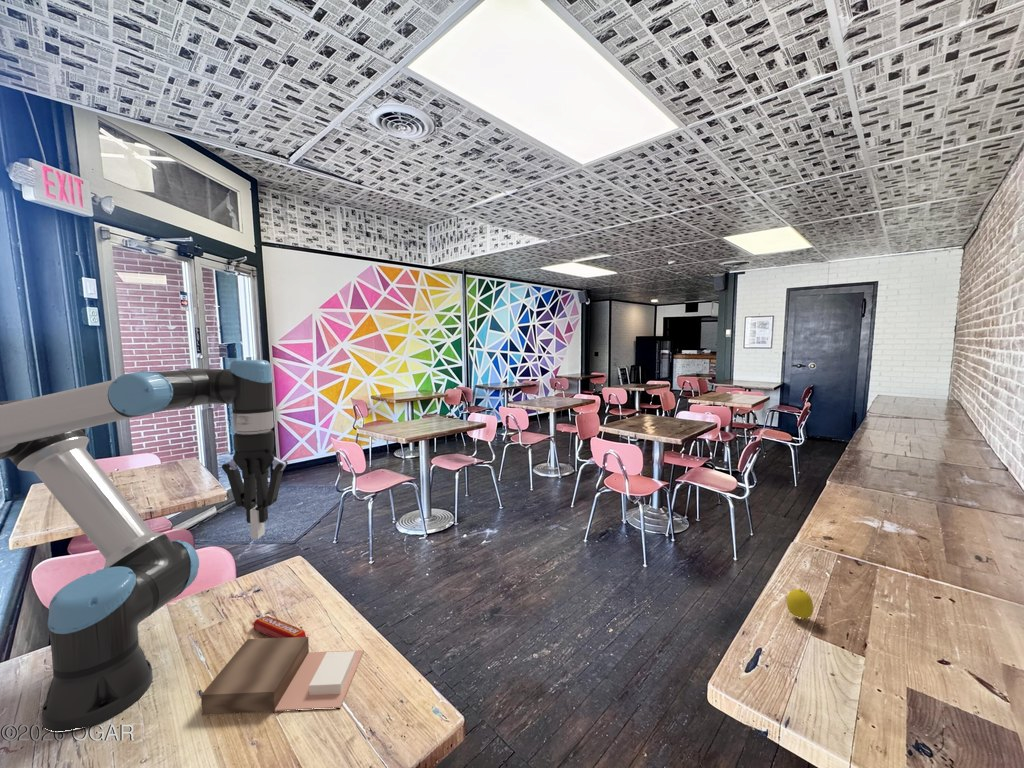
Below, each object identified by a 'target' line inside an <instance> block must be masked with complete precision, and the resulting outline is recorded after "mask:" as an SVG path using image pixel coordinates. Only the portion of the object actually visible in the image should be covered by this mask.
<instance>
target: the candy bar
mask: <svg viewBox="0 0 1024 768" xmlns="http://www.w3.org/2000/svg"><path fill="white" fill-rule="evenodd" d="M251 626H253V629H255V630H256V631H257V632H260V633H262V634H263V635H264V634H265V635H266V636H268V637H270V638H290V637H307V636H306V635H307V634H306V632H305V630H304V629H302V628H299V627H297V626H295V625H291V624H290V623H287V622H285V621H282V620H279V619H277V618H275V617H271V616H268V615H267V616H261V617H259V618H257V619H256V620H254V622H253V623H252V625H251Z"/></svg>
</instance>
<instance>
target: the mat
mask: <svg viewBox="0 0 1024 768" xmlns="http://www.w3.org/2000/svg"><path fill="white" fill-rule="evenodd" d="M346 651H347V650H334V651H331V650H330V651H309V653H308V654H307V656H306V658H305V659H304V661H303V663H302V665H301V666H300V668H299V670H298V671H297V673H296V675H295V676H294V678H293V680H292V681H291V683H290V685H289V686H288V688H287V690H286V692H285V693H284V695H283V697H282V698H281V700H280V702H279V703H278V705H277V707H276V708H275V712H274V713H278V712H277V711H283V712H288V711H287V710H296V709H297V710H298V709H312V708H313V709H314V708H333V707H334V708H339V707H341V708H342V706H343V704H342V703H344V701H343V700H345V699H344V698H346V696H347V694H348V691H349V688H350V687H349V686H351V684H352V682H353V679H354V677H355V674H356V671H357V670H356V669H358V667H359V665H358V664H360V661H361V660H362V657H363V655H364V652H365V651H364V650H363V649H360V650H357V649H355V650H354V651H355V662H354V664H353V666H352V669H351V671H350V673H349V676H348V678H347V680H346V683H345V685H344V688H343V690H342V692H341V694H323V695H309V685H310V683H311V681H312V679H313V677H314V675H315V673H316V671H317V670H318V668H319V666H320V664H321V662H322V660H323V658H324V656H325V655H326V653H327V652H346ZM362 654H363V655H362ZM360 659H361V660H360ZM357 666H358V667H357ZM341 705H342V706H341ZM285 710H286V711H285Z"/></svg>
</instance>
